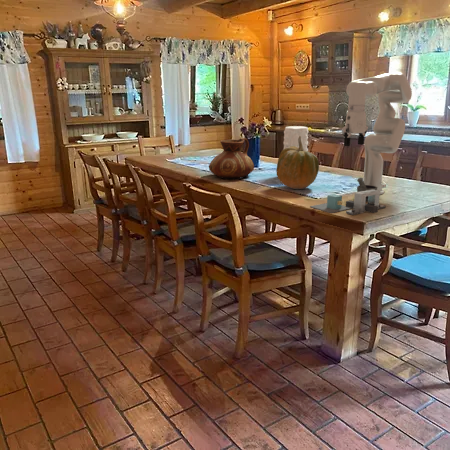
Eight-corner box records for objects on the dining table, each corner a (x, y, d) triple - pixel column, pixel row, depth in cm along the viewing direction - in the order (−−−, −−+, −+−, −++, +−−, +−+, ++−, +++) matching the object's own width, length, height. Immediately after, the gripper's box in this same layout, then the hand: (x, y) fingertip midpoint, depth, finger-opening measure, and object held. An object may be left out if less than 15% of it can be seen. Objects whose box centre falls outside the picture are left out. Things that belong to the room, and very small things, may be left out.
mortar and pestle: (367, 197, 232) (369, 174, 229) (380, 201, 224) (382, 177, 221) (350, 199, 228) (351, 176, 224) (362, 203, 220) (364, 179, 216)
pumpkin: (302, 182, 272) (304, 133, 263) (326, 190, 249) (329, 136, 240) (268, 185, 264) (269, 134, 255) (289, 194, 241) (291, 138, 232)
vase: (306, 173, 300) (308, 125, 291) (308, 178, 285) (310, 127, 276) (281, 173, 302) (282, 126, 293) (282, 178, 287) (283, 127, 278)
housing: (378, 206, 214) (379, 187, 211) (385, 207, 211) (386, 189, 208) (345, 213, 202) (347, 194, 200) (352, 215, 199) (354, 195, 196)
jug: (235, 182, 275) (235, 142, 268) (199, 177, 292) (198, 139, 285) (262, 175, 297) (262, 137, 290) (226, 171, 315) (225, 135, 308)
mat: (330, 203, 221) (330, 202, 221) (352, 208, 210) (352, 207, 210) (309, 207, 214) (309, 206, 214) (331, 213, 203) (331, 212, 203)
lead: (349, 206, 216) (350, 200, 215) (377, 212, 204) (377, 206, 203) (345, 207, 214) (346, 201, 213) (373, 213, 202) (374, 207, 201)
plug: (333, 206, 214) (333, 193, 212) (343, 208, 209) (344, 196, 207) (326, 207, 211) (327, 195, 209) (337, 210, 206) (338, 197, 204)
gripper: (349, 109, 202) (347, 147, 207) (374, 108, 211) (371, 144, 216) (337, 109, 208) (335, 145, 213) (362, 108, 217) (359, 143, 222)
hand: (353, 145), depth 215 cm, fingers open, 9 cm apart
